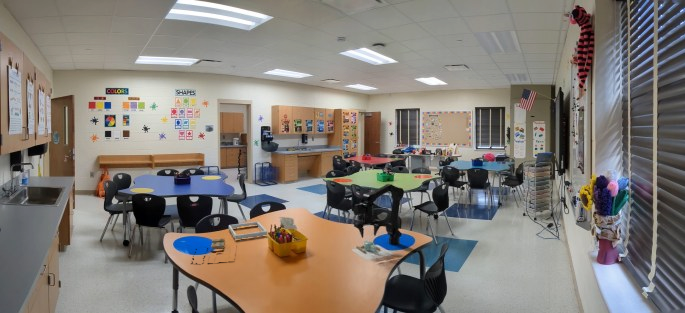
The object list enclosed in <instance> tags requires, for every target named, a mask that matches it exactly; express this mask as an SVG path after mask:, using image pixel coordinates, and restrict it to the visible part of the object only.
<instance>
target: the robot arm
mask: <svg viewBox="0 0 685 313" xmlns="http://www.w3.org/2000/svg"><path fill="white" fill-rule="evenodd" d="M388 192H390V194H391V199H392V201H391V202H392V204H391V209H390V218H389V221H388V222H386V223H385V224H386V225H385V231H386V232H387V235H388V236H389V238H388V244H389V245H391V246H392V245H393V246H396V245H397V246H401V245H402V244H401V243H400V240H401V238H400V237H402V235H403V233H402V232H401V231H400V229H399V228H400V227H399V222H398V219H399V218H398V217H399V210H400V206H401V205H400V204H401V203H400V202H401V201H402V199H403V198H404V194H405V190H404V189H403V188H402V187H398V186H395V185H393V184H391V183H386V184H385V185H383V186H381V187H379V188H377V189H376V190H373V191H370V192H366V193H364V194H362V197H361V199H360V201H359V203H358V204H357V203H356V204H354V207H353V209H352V212H353V214H354V215H355V216H357V217H356V218H357V221H356V222H354V224H353V227H355V228H356V229H358V232H359V234H360V236H361V238H362V239H363V238H364V230H365V229H364V227H365V226H371V225H373V236H374V237H376V235H377V233H378V231H379V229H380V228H382V226H383V225H384V222H383V220H381V219H379V218H378V219H374V217H375V215H374V207H375V206H376V204H375V203H374V202H376V201H377V200H378V198H379V197H381V196H383V195H385V194H387V193H388Z"/></svg>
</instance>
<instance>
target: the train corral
mask: <svg viewBox="0 0 685 313" xmlns="http://www.w3.org/2000/svg"><path fill="white" fill-rule="evenodd" d="M249 225H257V226H258V227H259V228H260V229H261V230H262V231H263V232H261V231H257V232H250V233H244V234H243V233H242V234H237V233H236V232H235V230H233V229H232V228H237V227H241V226H249ZM258 227H257V228H258ZM229 229H230V231H231V233H232V234H233V236H234V238H235V239H242V238H248V237H257V236H263V235H267V236H268V230H267V229H266V228H265V227H264V226H263V225H262V224H261V223H260V222H259V221H251V222H245V223H244V222H243V223H236V224H229V225H228V230H229ZM230 231H229V232H230ZM231 233H230V234H231ZM232 234H231V235H232ZM233 236H232V237H233ZM234 238H233V239H234ZM235 239H234V240H235Z"/></svg>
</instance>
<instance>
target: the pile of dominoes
mask: <svg viewBox="0 0 685 313" xmlns="http://www.w3.org/2000/svg"><path fill="white" fill-rule="evenodd" d="M211 242H212V243H211V246H210V250H211V249H223V248H224V249H225V247H224V245H225V246H226V240H225V238H223V237H222V238H214V239H212V240H211Z"/></svg>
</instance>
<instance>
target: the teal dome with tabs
mask: <svg viewBox="0 0 685 313" xmlns="http://www.w3.org/2000/svg"><path fill="white" fill-rule="evenodd" d="M363 245H364V250H365V251H377V247H376V246H374V245H375V244H374V242H373V241H368V240H367V241H366V240H365V241H364V242H363Z"/></svg>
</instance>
